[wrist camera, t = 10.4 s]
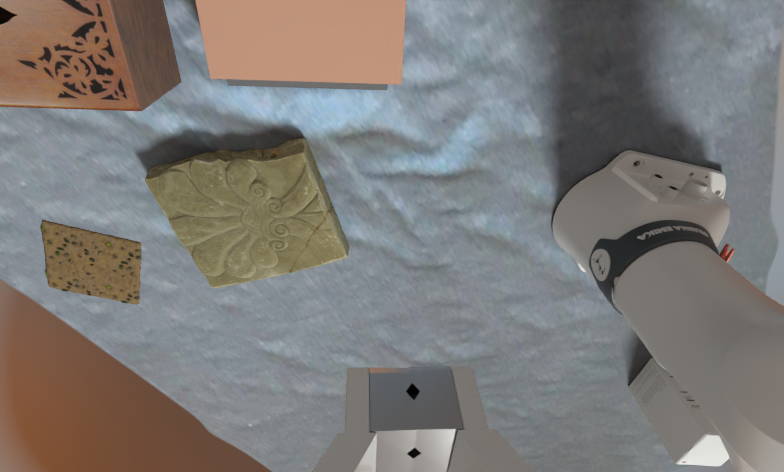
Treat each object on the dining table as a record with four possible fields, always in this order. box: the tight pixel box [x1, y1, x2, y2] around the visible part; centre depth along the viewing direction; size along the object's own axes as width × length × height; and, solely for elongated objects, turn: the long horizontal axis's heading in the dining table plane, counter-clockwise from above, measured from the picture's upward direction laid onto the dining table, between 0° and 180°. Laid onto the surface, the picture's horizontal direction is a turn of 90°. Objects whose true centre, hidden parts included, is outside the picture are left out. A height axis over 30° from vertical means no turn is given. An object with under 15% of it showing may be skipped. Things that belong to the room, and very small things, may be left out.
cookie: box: [41, 220, 141, 304], centre depth 58 cm, size 12×12×1 cm
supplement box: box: [629, 358, 729, 466], centre depth 73 cm, size 9×9×15 cm
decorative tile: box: [145, 138, 349, 288], centre depth 53 cm, size 19×20×4 cm
